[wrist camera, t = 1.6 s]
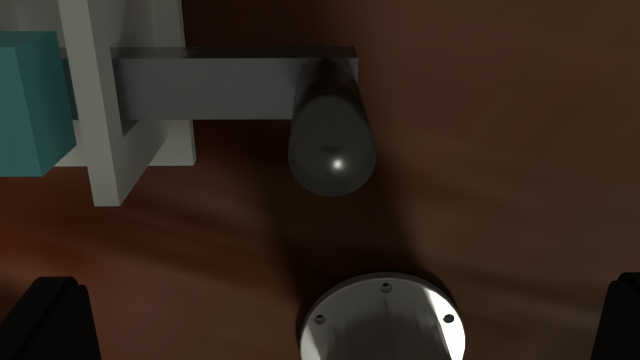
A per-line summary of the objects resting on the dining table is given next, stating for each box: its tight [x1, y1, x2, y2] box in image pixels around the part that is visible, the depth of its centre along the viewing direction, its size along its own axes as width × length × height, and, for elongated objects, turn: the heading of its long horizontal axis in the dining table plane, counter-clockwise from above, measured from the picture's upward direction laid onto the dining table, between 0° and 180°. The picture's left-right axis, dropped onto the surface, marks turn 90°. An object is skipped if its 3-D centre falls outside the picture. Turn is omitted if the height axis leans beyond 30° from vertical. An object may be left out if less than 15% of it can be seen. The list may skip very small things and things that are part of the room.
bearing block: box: [0, 0, 196, 206], centre depth 30 cm, size 14×12×11 cm
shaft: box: [59, 46, 377, 197], centre depth 25 cm, size 3×22×12 cm, turn 90°
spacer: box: [0, 31, 77, 177], centre depth 25 cm, size 6×4×4 cm
